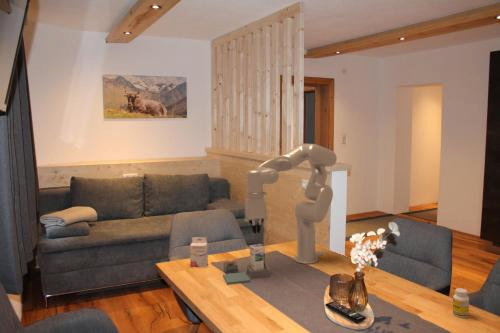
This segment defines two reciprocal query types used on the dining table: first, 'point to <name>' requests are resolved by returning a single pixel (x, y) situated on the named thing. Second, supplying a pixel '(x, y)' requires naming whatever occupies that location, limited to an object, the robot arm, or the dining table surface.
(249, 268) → the frame
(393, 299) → the dining table surface
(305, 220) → the robot arm
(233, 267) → the plunger housing
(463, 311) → the supplement bottle
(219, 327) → the dining table surface
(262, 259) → the syrup box
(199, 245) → the ink cartridge box
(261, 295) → the dining table surface
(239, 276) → the mat
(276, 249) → the dining table surface
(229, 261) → the plunger
